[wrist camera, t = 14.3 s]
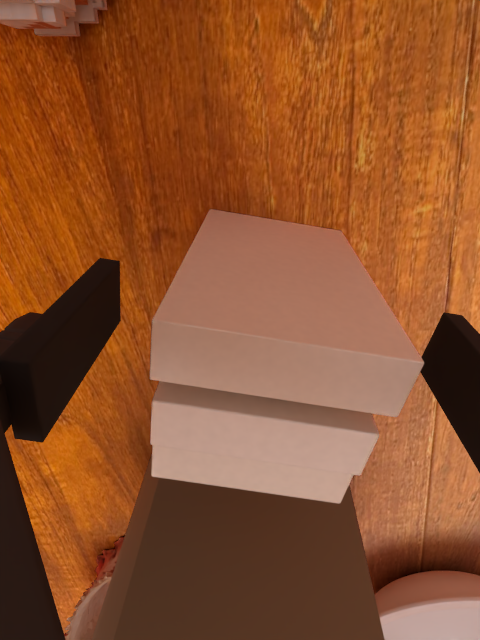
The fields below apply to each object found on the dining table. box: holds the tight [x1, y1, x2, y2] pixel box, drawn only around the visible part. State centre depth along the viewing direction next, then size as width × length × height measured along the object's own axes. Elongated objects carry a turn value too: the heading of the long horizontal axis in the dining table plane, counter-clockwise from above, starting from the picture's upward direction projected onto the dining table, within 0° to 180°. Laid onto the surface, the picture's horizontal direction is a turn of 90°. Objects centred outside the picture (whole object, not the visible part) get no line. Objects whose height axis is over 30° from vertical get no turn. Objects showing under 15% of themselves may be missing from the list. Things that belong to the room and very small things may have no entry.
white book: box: [150, 209, 424, 417], centre depth 19 cm, size 2×9×15 cm, turn 82°
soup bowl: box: [375, 571, 480, 640], centre depth 44 cm, size 24×24×7 cm
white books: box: [150, 381, 379, 504], centre depth 22 cm, size 6×9×14 cm
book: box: [91, 456, 385, 640], centre depth 27 cm, size 19×8×25 cm, turn 67°
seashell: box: [64, 537, 124, 640], centre depth 44 cm, size 17×11×15 cm
